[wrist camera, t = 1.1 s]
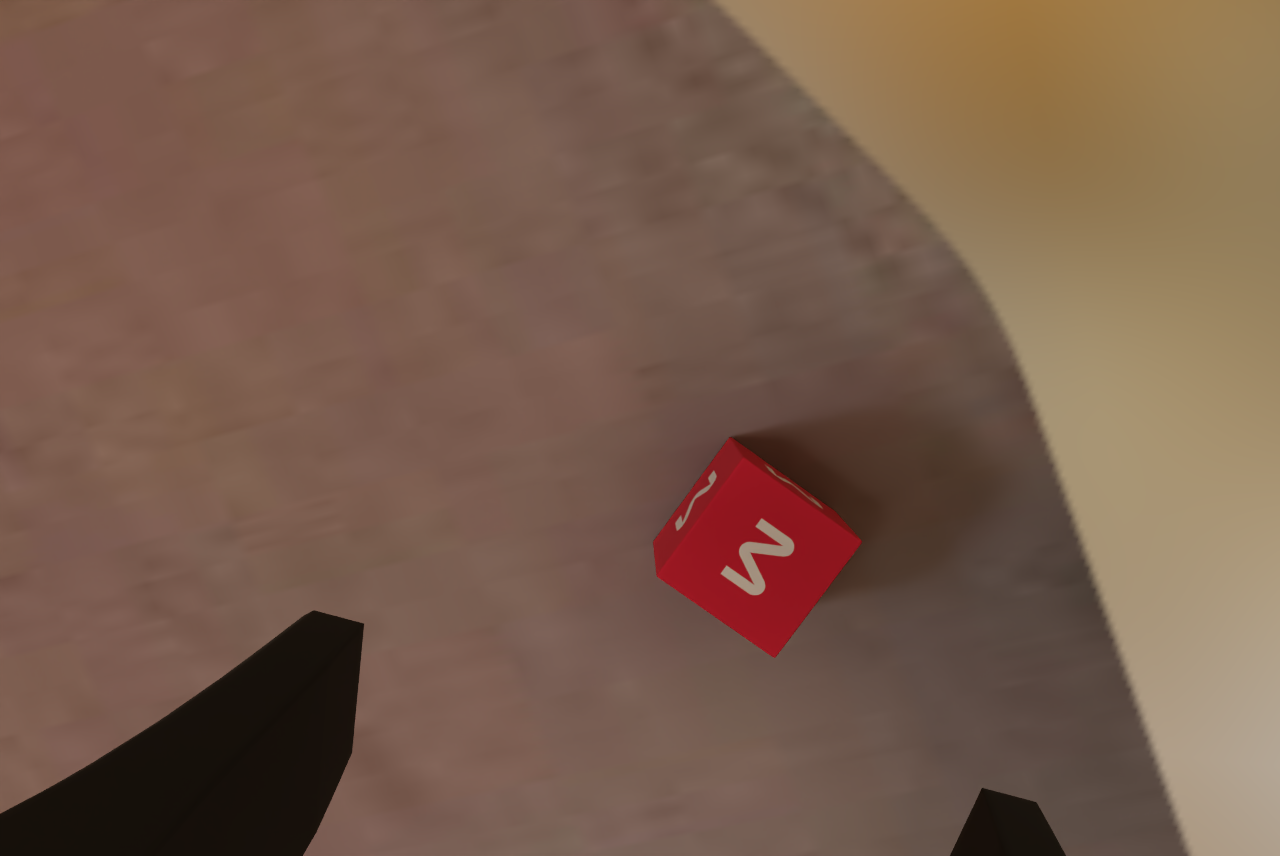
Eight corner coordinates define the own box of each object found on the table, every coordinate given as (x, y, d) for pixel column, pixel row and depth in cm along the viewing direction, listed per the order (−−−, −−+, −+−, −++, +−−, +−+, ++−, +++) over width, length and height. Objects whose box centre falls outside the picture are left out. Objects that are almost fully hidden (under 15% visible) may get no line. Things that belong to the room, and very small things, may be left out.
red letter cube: (758, 616, 26) (775, 659, 23) (652, 542, 26) (655, 575, 23) (836, 511, 26) (863, 542, 23) (729, 435, 26) (743, 456, 23)
